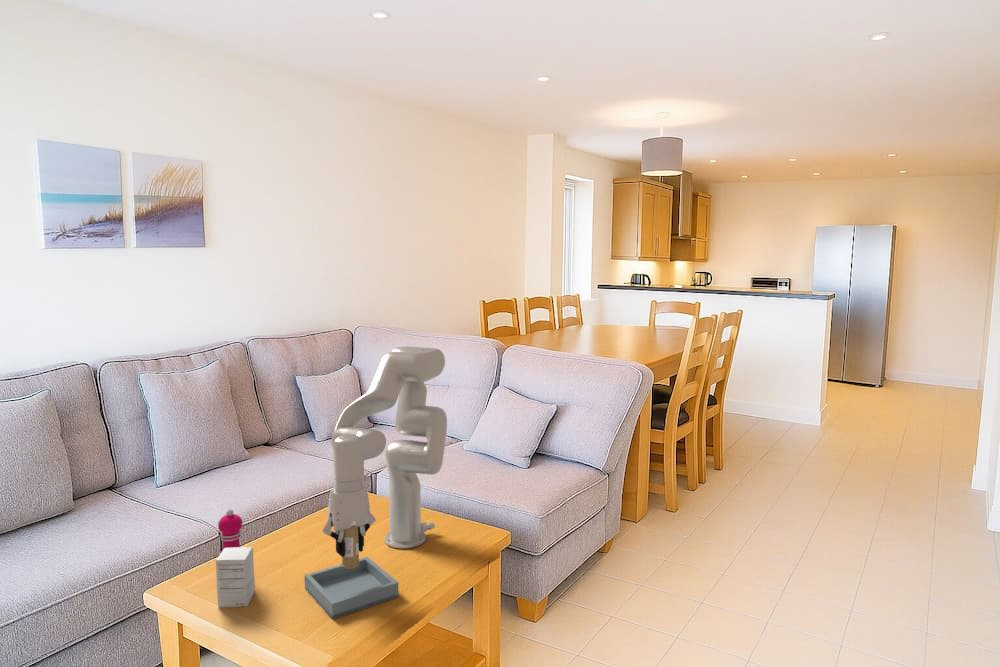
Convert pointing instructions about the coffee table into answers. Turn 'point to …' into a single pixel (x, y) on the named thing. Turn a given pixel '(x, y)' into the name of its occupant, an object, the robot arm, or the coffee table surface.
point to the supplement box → (235, 577)
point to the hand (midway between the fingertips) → (350, 551)
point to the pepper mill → (230, 529)
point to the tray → (351, 587)
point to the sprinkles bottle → (351, 547)
